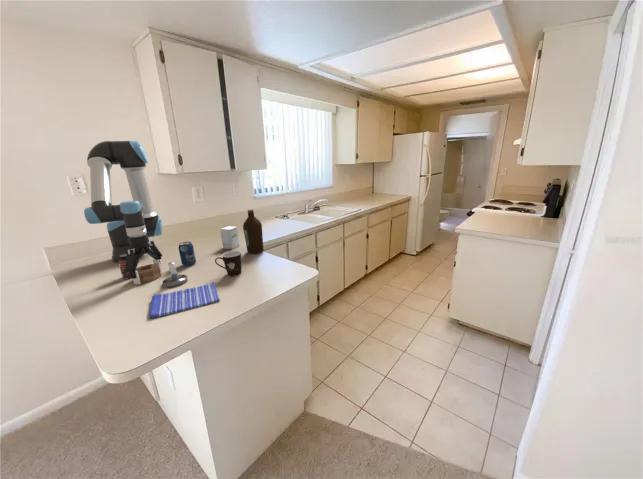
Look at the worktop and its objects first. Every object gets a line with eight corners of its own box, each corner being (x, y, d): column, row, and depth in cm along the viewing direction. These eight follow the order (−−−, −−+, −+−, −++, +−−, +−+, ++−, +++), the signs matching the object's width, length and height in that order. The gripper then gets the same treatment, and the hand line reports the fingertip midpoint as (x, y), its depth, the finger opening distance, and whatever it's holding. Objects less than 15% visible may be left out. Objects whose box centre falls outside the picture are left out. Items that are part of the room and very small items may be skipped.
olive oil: (262, 247, 164) (258, 207, 156) (266, 252, 154) (261, 210, 147) (245, 250, 160) (239, 209, 152) (247, 255, 150) (241, 212, 143)
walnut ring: (131, 282, 123) (128, 272, 121) (147, 273, 132) (145, 264, 131) (150, 282, 122) (147, 272, 120) (165, 273, 131) (163, 264, 129)
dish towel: (153, 300, 107) (151, 293, 106) (215, 285, 117) (214, 279, 116) (149, 321, 92) (147, 314, 91) (220, 302, 102) (219, 296, 102)
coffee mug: (247, 270, 130) (244, 251, 127) (236, 278, 122) (233, 257, 119) (227, 268, 134) (224, 249, 131) (216, 275, 126) (212, 255, 123)
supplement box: (232, 249, 163) (229, 229, 159) (222, 248, 166) (219, 229, 162) (239, 245, 170) (237, 226, 166) (230, 244, 172) (227, 226, 168)
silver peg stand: (158, 287, 117) (153, 267, 114) (173, 277, 126) (168, 258, 123) (178, 287, 115) (174, 267, 113) (192, 277, 125) (188, 259, 122)
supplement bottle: (121, 280, 126) (115, 258, 122) (123, 275, 131) (117, 254, 127) (136, 277, 128) (130, 255, 125) (138, 273, 133) (132, 252, 130)
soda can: (190, 267, 138) (186, 245, 134) (179, 266, 139) (174, 245, 136) (199, 262, 144) (195, 241, 141) (188, 261, 146) (183, 241, 142)
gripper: (122, 243, 108) (135, 290, 114) (164, 228, 132) (173, 267, 138) (106, 243, 109) (119, 289, 116) (150, 228, 133) (160, 267, 139)
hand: (148, 277), depth 127 cm, fingers open, 13 cm apart
